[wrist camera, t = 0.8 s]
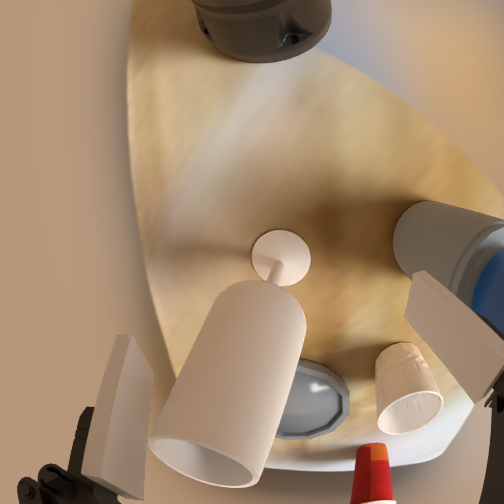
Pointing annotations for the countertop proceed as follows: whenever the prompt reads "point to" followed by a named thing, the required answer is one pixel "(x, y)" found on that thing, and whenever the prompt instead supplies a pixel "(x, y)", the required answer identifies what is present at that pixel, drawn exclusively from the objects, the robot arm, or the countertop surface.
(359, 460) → the coffee cup
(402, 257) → the spray bottle
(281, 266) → the champagne flute
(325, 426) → the plate
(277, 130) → the countertop surface
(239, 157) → the countertop surface
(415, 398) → the white cup
